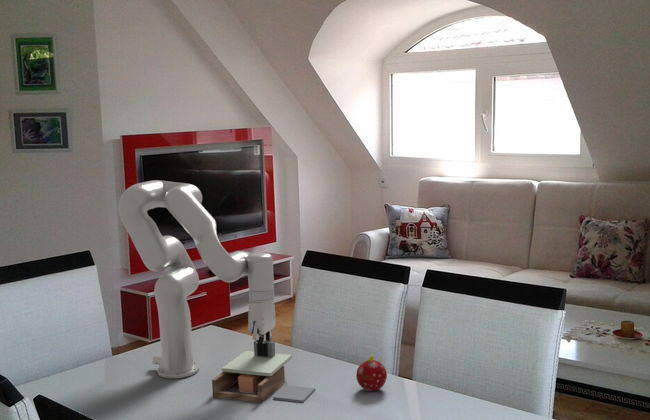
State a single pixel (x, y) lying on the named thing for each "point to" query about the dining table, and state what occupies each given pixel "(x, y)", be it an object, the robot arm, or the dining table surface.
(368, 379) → the christmas ornament
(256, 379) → the block
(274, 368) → the lid
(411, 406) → the dining table surface
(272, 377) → the board
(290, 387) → the pad
